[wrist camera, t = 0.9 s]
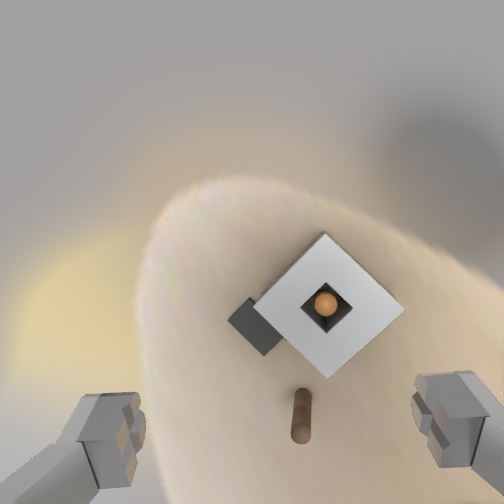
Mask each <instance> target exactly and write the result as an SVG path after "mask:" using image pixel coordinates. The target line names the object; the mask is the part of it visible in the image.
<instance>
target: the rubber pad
mask: <svg viewBox="0 0 504 504" xmlns="http://www.w3.org/2000/svg"><path fill="white" fill-rule="evenodd" d="M254 305H255V302H254V301H253V300H252V299H251V298H249V299H248V300H247V301H246V302H245V303H244V304H243V305H242V306H241V307H240V308H239V309H238V310H237V311H236V312H235V313H234V314H233V315H232V316H231V317H230V318H229V319H228V321H229V322H230V323H231V324H232V325H233V326H234V327H235V328H236V329H237V330H238V331H239V332H240V333H241V334H242V335H243V336H244V337H245V338H246V339H247V340H248V341H249V342H250V343H251V344H252V345H253V346H254V347H255V348H256V349H257V350H258V351H259V352H260V353H261V354H262V355H263V356H265V355H266V354H267V353H268V352H269V351H270V350H271V349H272V348H273V347H274V346H275V345H276V344H277V343H278V342H279V341H280V340H281V339H282V338H283V336H282V335H281V334H280V333H279V332H278V331H277V330H276V329H275V328H274V327H273V326H272V325H271V324H270V323H269V322H268V321H267V320H266V319H265V318H264V317H263V316H262V315H261V314H260V313H259V312H258V311H257V310H256V309H255V308H254V307H253V306H254Z"/></svg>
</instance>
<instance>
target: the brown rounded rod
mask: <svg viewBox="0 0 504 504" xmlns="http://www.w3.org/2000/svg"><path fill="white" fill-rule="evenodd" d="M311 400H312V395H311V393H310V391H309V390H307V389H305V388H300V389H298V390H297V391H296V393H295V400H294V409H293V418H292V426H291V438H292V439H293V441H294V442H296V443H298V444H306V443H307V442H309V440H310V438H311Z"/></svg>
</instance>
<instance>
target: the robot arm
mask: <svg viewBox="0 0 504 504" xmlns="http://www.w3.org/2000/svg"><path fill="white" fill-rule="evenodd" d="M414 386H415V387H416V389H417V392H416V393H415V394H414V395H413V396H412V402H411V408H412V415H413V418H414V421H415V423H416V425H417V427H418V429H419V431H420V432H422V433H423V434H424V435H426V436H427V437H428V443H427V446H428V448H429V450H430V452H431V453H432V455H433V457H434V459H435V461H436V463H437V465H438V466H439V468H452V467H472V468H471V469H472V470H474V471H475V472H476V473H477V474H478V475H480V476H481V477H482V478H483V479H484V480H485V481H487V482H488V483H489V484H490V485H491V486H493V487H494V488H495V489H496V490H497V491H498V492H500V493H501V494H502V495H503V496H504V406H503V405H502V404H501V403H500V402H499V400H498V399H497V398H496V397H495V396H494V395H493V393H492V392H491V391H490V390H489V389H488V388H487V387H486V385H485V384H484V383H483V382H482V381H481V380H480V378H479V377H478V376H477V375H476V374H475V373H474V372H472V371H470V370H469V371H456V372H443V373H429V374H418V375H417V376H416V378H415V382H414ZM140 403H141V399H140V396H139V393H137V392H122V393H103V394H86V395H84V396H83V397H82V398H81V399H80V401H79V403H78V405H77V406H76V408H75V410H74V412H73V413H72V415H71V417H70V419H69V421H68V422H67V424H66V426H65V428H64V430H63V431H62V433H61V435H60V437H59V439H58V440H57V442H56V444H50V445H49V446H47V447H46V448H45V449H43V450H42V451H41V452H40V453H38V454H37V455H36V456H34V457H33V458H32V459H31V460H29V461H28V462H27V463H26V464H24V465H23V466H22V467H21V468H19V469H18V470H17V471H15V472H14V473H13V474H12V475H10V476H9V477H8V478H7V479H5V480H4V481H3V482H1V483H0V504H89V503H90V501H91V500H92V499H93V498H94V497H95V496H96V495H97V493H98V492H99V489H108V488H120V487H130V486H131V483H132V480H133V477H134V473H135V470H136V467H137V463H138V462H137V459H136V454H137V452H138V451H139V450H140V449H141V448H142V446H143V443H144V439H145V432H146V420H145V415H144V413H143V412H142V411H141V410H140V409H139V406H140Z"/></svg>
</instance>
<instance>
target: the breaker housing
mask: <svg viewBox="0 0 504 504" xmlns="http://www.w3.org/2000/svg"><path fill="white" fill-rule="evenodd" d="M325 282H327V283H328V284H329V285H330V286H331V287H332V288H333V289H334V290H335V291H336V292H337V293H338V294H339V295H340V296H341V297H342V298H343V299H344V301H343V302H342V303H341V304H340V305H339V306H338V307H337V309H336V311H335V312H334V313H333V314H332V315H329V316H327V317H326V318H324V317H323V316H322V315H321V314H319V313H318V312H317V311H316V309H315V308H314V307H313V306H312V305H311V304H310V303H309V302H308V301H307V300H308V299H309V298H310V297H311V296H312V295H313V294H314V293H315V292H316V291H317V290H318V289H319V288H320V287H321V286H322V285H323V284H324V283H325ZM253 307H254V308H255V309H256V310H257V311H258V312H259V313H260V314H261V315H262V316H263V317H264V318H265V319H266V320H267V321H268V322H269V323H270V324H271V325H272V326H273V327H274V328H275V329H276V330H277V331H278V332H279V333H280V334H281V335H282V336H283V337H284V338H285V339H286V340H287V341H288V342H289V343H290V344H291V345H292V346H293V347H294V348H295V349H296V350H298V351H299V352H300V353H301V354H302V355H303V356H304V357H305V358H306V359H307V360H308V361H309V362H310V363H311V364H312V365H313V366H314V367H315V368H316V369H317V370H318V371H319V372H320V373H321V374H322V375H323V376H324V377H325V378H326V379H328V378H329V377H330V376H331V375H332V374H334V373H335V372H336V371H337V370H338V369H339V368H340V367H341V366H343V365H344V364H345V363H346V362H347V361H348V360H349V359H350V358H352V357H353V356H354V355H355V354H356V353H357V352H358V351H359V350H360V349H362V348H363V347H364V346H365V345H366V344H367V343H368V342H369V341H371V340H372V339H373V338H374V337H375V336H376V335H377V334H378V333H380V332H381V331H382V330H383V329H384V328H385V327H386V326H387V325H389V324H390V323H391V322H392V321H393V320H394V319H395V318H396V317H397V316H399V315H400V314H401V313H402V312H403V311H404V310H405V308H404V307H403V306H402V305H401V304H400V303H399V302H398V301H397V300H396V299H395V298H394V297H393V296H392V295H391V294H390V293H389V292H388V291H387V290H386V289H385V288H384V287H383V286H382V285H381V284H380V283H379V282H378V281H377V280H375V279H374V278H373V277H372V276H371V275H370V274H369V273H368V272H367V271H366V270H365V269H364V268H363V267H362V266H361V265H360V264H359V263H358V262H356V261H355V260H354V259H353V258H352V257H351V256H350V255H349V254H348V253H347V252H346V251H345V250H344V249H343V248H342V247H341V246H340V245H339V244H337V243H336V242H335V241H334V240H333V239H332V238H331V237H330V236H329V235H328V234H327V233H326V232H325V231H324V232H323V233H322V234H321V235H320V236H319V237H318V238H317V239H316V240H315V241H314V242H313V243H312V244H311V245H310V246H309V247H308V248H307V249H306V250H305V251H304V252H303V253H302V254H301V255H300V256H299V257H298V258H297V259H296V260H295V261H294V262H293V263H292V264H291V265H290V266H289V267H288V268H287V269H286V270H285V271H284V272H283V273H282V274H281V275H280V276H279V277H278V278H277V279H276V280H275V281H274V282H273V283H272V284H271V285H270V286H269V287H268V288H267V289H266V291H265V292H264V293H263V294H262V295H261V296H260V297H259V299H258V300H257V302H256V303H255V305H254V306H253Z"/></svg>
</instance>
